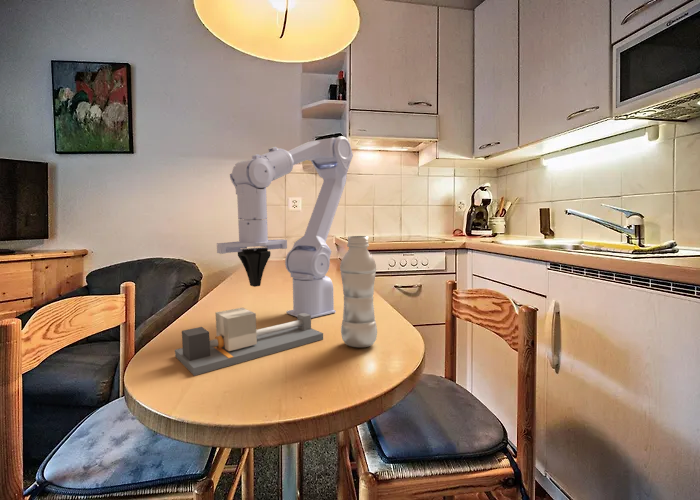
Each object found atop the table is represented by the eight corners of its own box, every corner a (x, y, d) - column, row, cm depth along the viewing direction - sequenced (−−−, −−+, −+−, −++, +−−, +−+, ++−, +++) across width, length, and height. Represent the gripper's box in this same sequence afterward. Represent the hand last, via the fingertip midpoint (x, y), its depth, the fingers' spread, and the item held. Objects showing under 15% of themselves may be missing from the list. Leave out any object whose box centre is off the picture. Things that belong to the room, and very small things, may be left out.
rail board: (295, 327, 78) (295, 303, 77) (323, 339, 70) (322, 312, 69) (175, 356, 62) (173, 326, 62) (194, 375, 55) (192, 342, 54)
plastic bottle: (366, 354, 62) (365, 238, 60) (333, 347, 66) (332, 237, 64) (383, 343, 68) (383, 235, 66) (352, 337, 71) (351, 235, 69)
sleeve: (243, 336, 68) (242, 307, 67) (256, 344, 63) (255, 313, 63) (216, 342, 64) (215, 312, 64) (228, 351, 60) (227, 318, 60)
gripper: (225, 220, 66) (228, 293, 67) (293, 219, 75) (295, 283, 77) (211, 220, 72) (214, 288, 73) (277, 219, 81) (278, 279, 82)
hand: (255, 285), depth 75 cm, fingers closed
